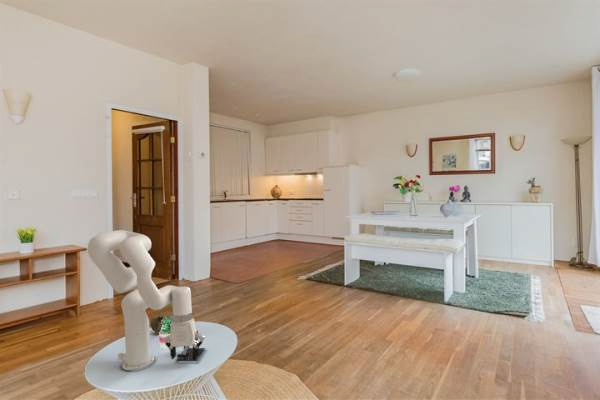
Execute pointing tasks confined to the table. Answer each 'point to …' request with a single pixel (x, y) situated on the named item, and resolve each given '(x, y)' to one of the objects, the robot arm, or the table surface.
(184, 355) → the lever
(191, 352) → the bracket
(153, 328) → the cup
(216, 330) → the table surface
